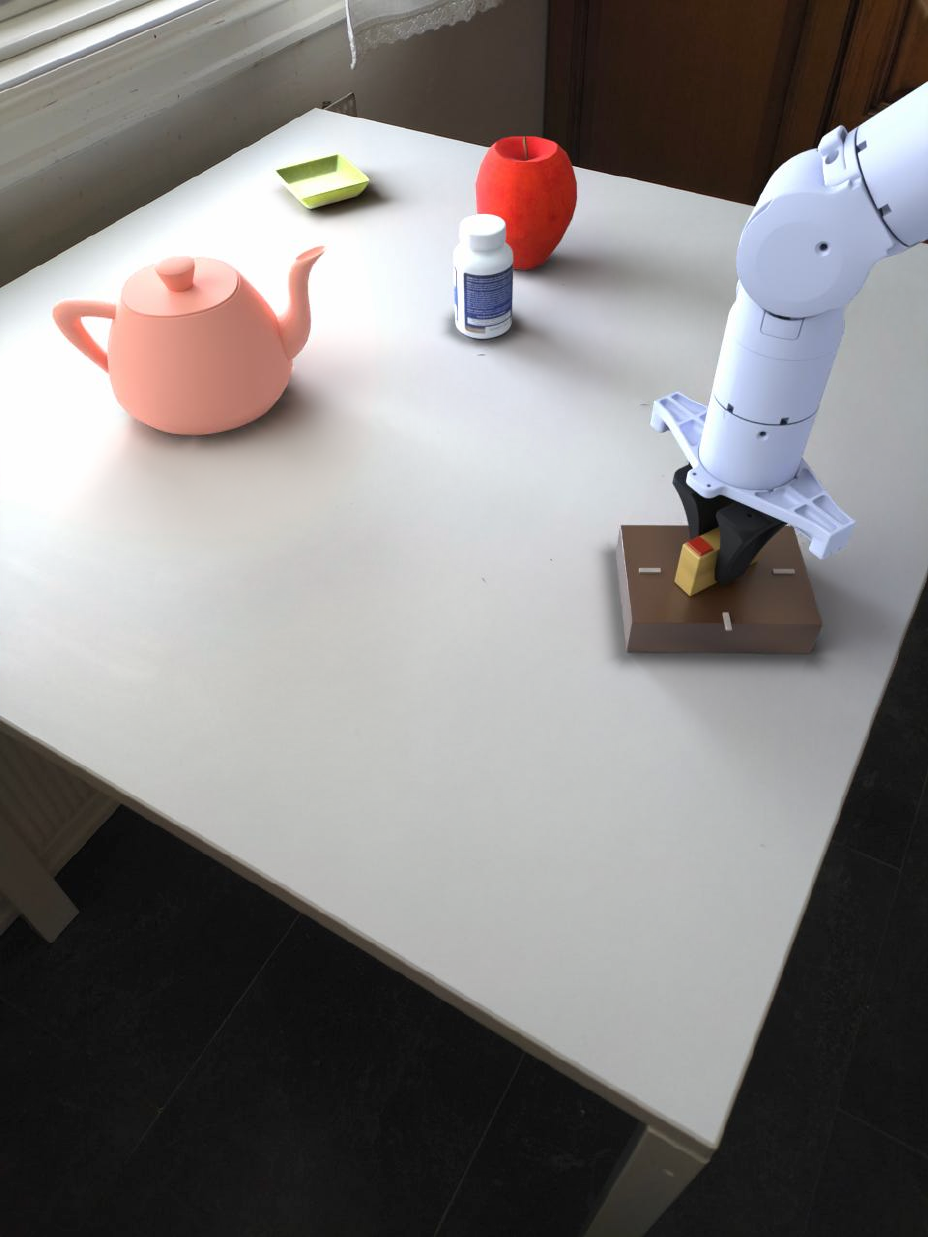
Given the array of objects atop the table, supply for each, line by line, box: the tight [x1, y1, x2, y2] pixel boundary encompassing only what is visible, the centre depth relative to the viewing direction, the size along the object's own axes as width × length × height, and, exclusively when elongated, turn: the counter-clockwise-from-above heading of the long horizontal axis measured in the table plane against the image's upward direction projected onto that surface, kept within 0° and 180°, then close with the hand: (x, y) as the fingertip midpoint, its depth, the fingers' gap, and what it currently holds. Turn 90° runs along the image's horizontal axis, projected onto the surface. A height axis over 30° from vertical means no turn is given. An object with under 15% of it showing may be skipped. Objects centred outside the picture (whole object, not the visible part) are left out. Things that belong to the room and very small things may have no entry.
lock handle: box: [675, 527, 762, 596], centre depth 58 cm, size 6×2×4 cm, turn 122°
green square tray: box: [272, 153, 371, 210], centre depth 104 cm, size 9×9×2 cm
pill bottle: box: [452, 214, 514, 340], centre depth 82 cm, size 5×5×10 cm
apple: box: [474, 135, 578, 271], centre depth 88 cm, size 10×10×12 cm
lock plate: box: [615, 524, 824, 655], centre depth 61 cm, size 12×10×3 cm
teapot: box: [52, 245, 327, 436], centre depth 74 cm, size 22×15×12 cm
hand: (717, 566), depth 59 cm, fingers closed on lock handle, 2 cm apart
